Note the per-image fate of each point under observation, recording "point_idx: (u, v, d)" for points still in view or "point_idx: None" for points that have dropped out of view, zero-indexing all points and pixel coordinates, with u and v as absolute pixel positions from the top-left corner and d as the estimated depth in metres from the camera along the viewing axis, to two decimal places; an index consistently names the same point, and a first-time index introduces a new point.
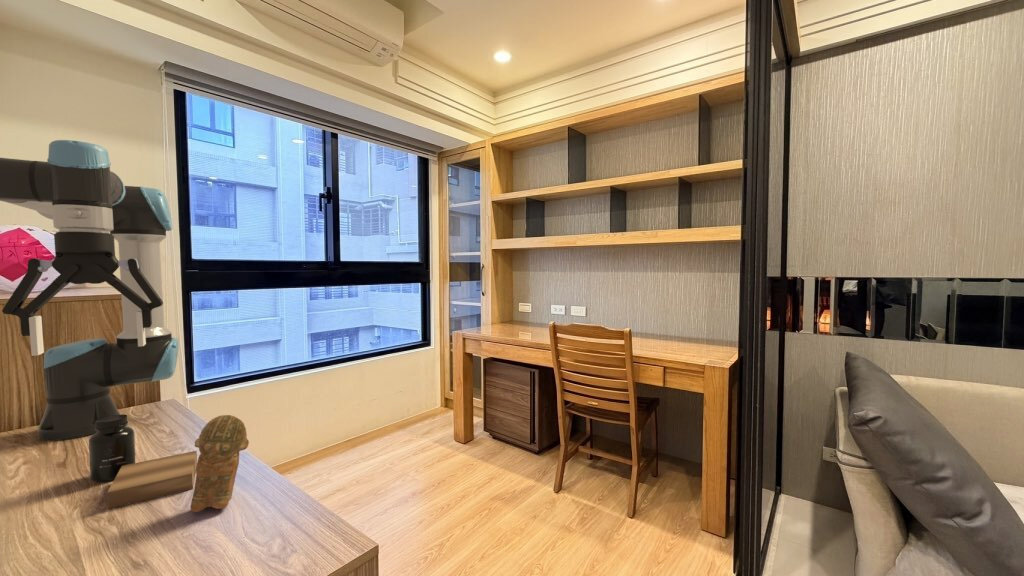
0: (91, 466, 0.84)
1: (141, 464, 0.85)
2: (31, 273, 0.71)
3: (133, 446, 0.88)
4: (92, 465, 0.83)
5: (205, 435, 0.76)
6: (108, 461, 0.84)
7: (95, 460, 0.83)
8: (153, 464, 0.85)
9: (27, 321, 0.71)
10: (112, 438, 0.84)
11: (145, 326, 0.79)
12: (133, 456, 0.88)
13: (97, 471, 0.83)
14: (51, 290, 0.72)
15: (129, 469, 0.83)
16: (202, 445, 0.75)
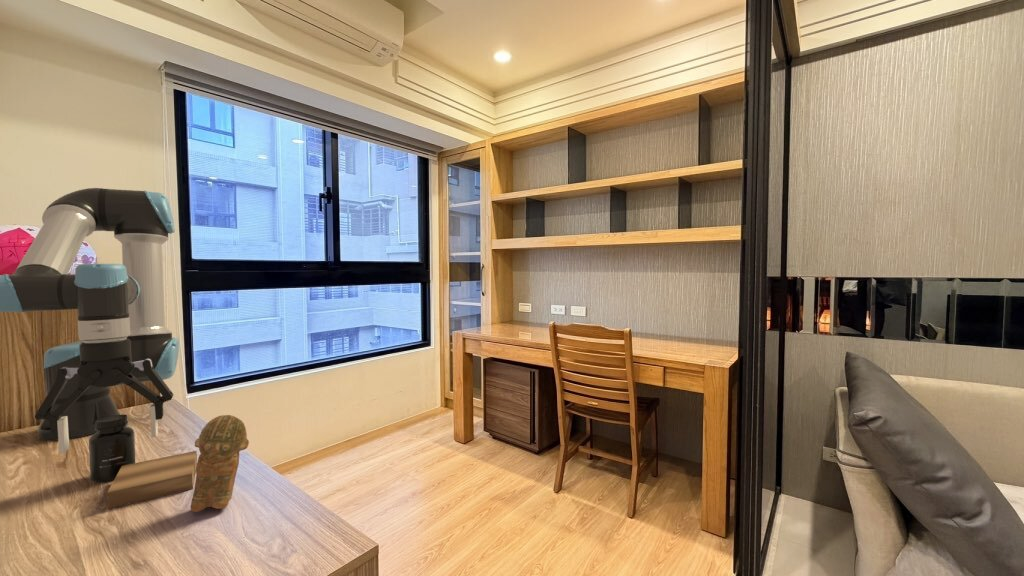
0: (91, 466, 0.84)
1: (141, 464, 0.85)
2: (60, 381, 0.81)
3: (133, 446, 0.88)
4: (92, 465, 0.83)
5: (205, 435, 0.76)
6: (108, 461, 0.84)
7: (95, 460, 0.83)
8: (153, 464, 0.85)
9: (55, 423, 0.81)
10: (112, 438, 0.84)
11: (157, 418, 0.90)
12: (133, 456, 0.88)
13: (97, 471, 0.83)
14: (76, 394, 0.82)
15: (129, 469, 0.83)
16: (202, 445, 0.75)
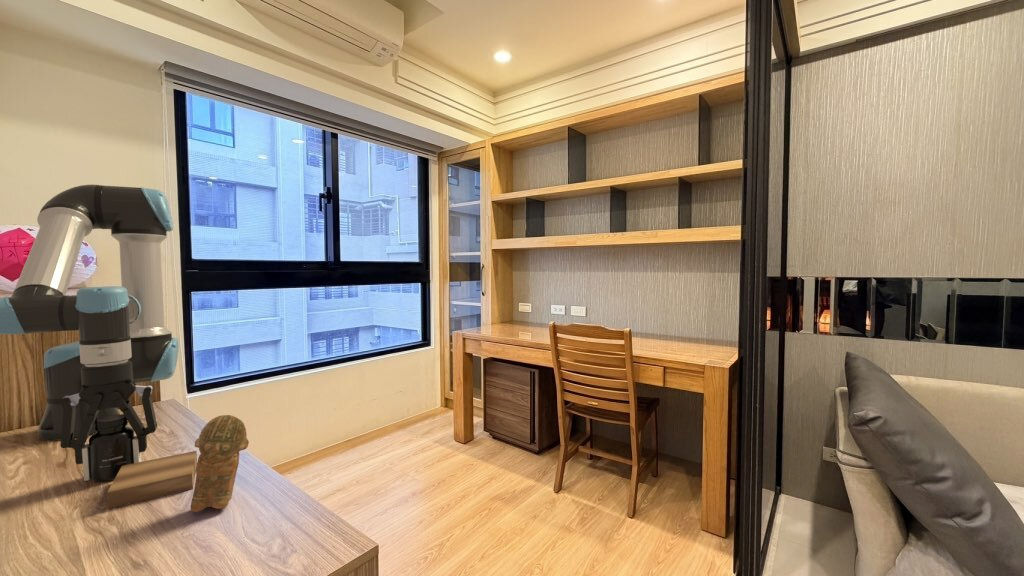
0: (91, 466, 0.84)
1: (141, 464, 0.85)
2: (67, 410, 0.82)
3: None
4: (92, 465, 0.83)
5: (205, 435, 0.76)
6: (108, 461, 0.84)
7: (95, 460, 0.83)
8: (153, 464, 0.85)
9: (80, 451, 0.83)
10: (112, 438, 0.84)
11: (141, 451, 0.89)
12: (133, 456, 0.88)
13: (97, 471, 0.83)
14: (89, 420, 0.84)
15: (129, 469, 0.83)
16: (202, 445, 0.75)
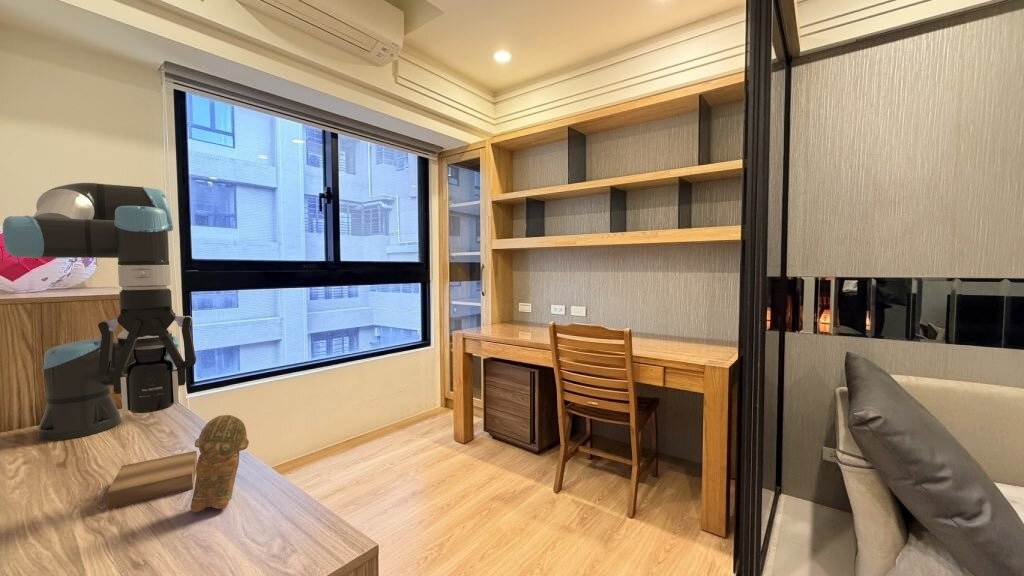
0: (130, 396, 0.79)
1: (141, 464, 0.85)
2: (106, 335, 0.77)
3: (172, 378, 0.83)
4: (131, 395, 0.79)
5: (205, 435, 0.76)
6: (147, 391, 0.79)
7: (134, 390, 0.78)
8: (153, 464, 0.85)
9: (118, 380, 0.79)
10: (152, 367, 0.79)
11: (180, 384, 0.84)
12: (172, 389, 0.83)
13: (136, 401, 0.78)
14: (128, 347, 0.79)
15: (129, 469, 0.83)
16: (202, 445, 0.75)
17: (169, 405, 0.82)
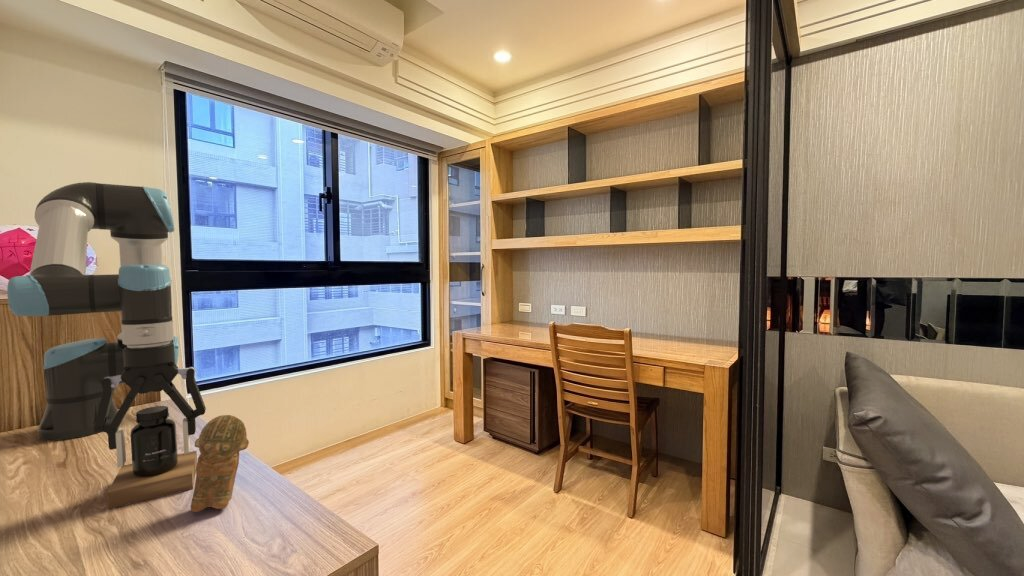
0: (133, 460, 0.79)
1: None
2: (107, 392, 0.77)
3: (175, 439, 0.84)
4: (134, 459, 0.79)
5: (205, 435, 0.76)
6: (151, 455, 0.80)
7: (138, 454, 0.79)
8: None
9: (113, 436, 0.79)
10: (155, 430, 0.80)
11: (190, 433, 0.85)
12: (175, 449, 0.84)
13: (140, 466, 0.79)
14: (127, 404, 0.79)
15: (129, 469, 0.83)
16: (202, 445, 0.75)
17: (172, 466, 0.83)
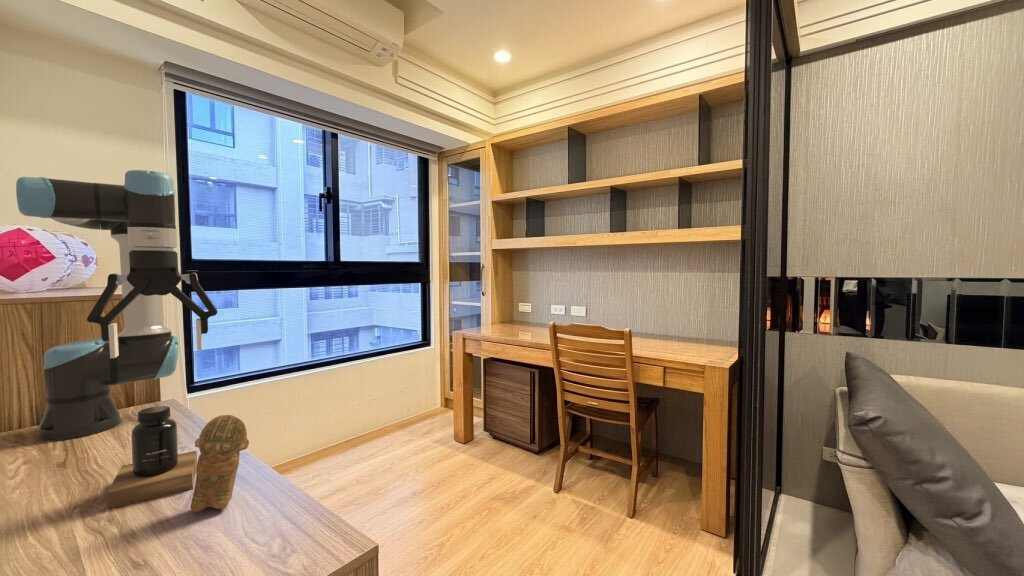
0: (134, 460, 0.80)
1: None
2: (110, 287, 0.81)
3: (176, 439, 0.84)
4: (135, 459, 0.79)
5: (205, 435, 0.76)
6: (151, 455, 0.80)
7: (138, 454, 0.79)
8: None
9: (106, 328, 0.82)
10: (156, 430, 0.80)
11: (203, 332, 0.90)
12: (176, 450, 0.84)
13: (140, 465, 0.79)
14: (126, 301, 0.83)
15: (129, 469, 0.83)
16: (202, 445, 0.75)
17: (173, 466, 0.83)
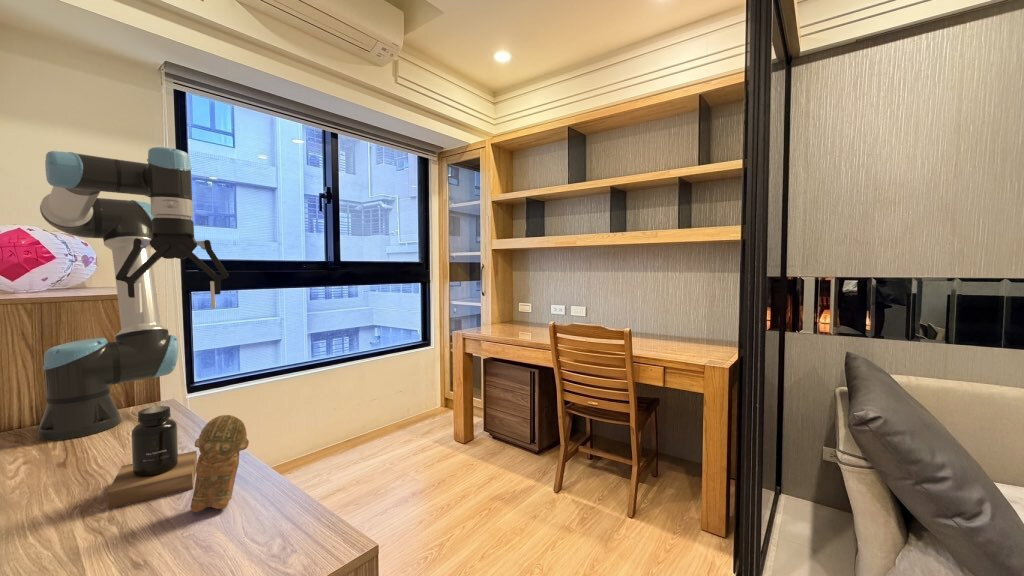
0: (134, 460, 0.79)
1: None
2: (136, 249, 0.92)
3: (176, 439, 0.84)
4: (135, 459, 0.79)
5: (205, 435, 0.76)
6: (151, 455, 0.80)
7: (139, 454, 0.79)
8: None
9: (132, 286, 0.93)
10: (156, 430, 0.80)
11: (216, 293, 1.01)
12: (176, 450, 0.84)
13: (140, 465, 0.79)
14: (149, 263, 0.94)
15: (129, 469, 0.83)
16: (202, 445, 0.75)
17: (173, 466, 0.83)
